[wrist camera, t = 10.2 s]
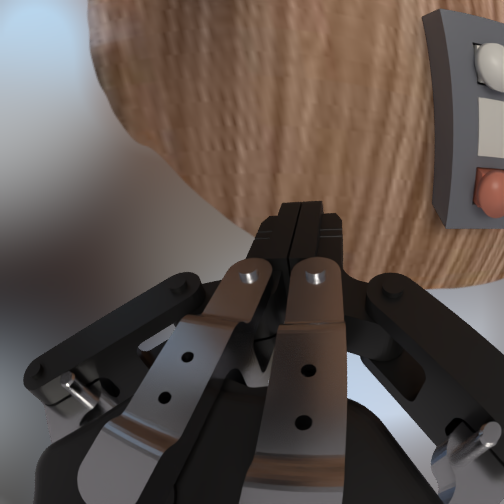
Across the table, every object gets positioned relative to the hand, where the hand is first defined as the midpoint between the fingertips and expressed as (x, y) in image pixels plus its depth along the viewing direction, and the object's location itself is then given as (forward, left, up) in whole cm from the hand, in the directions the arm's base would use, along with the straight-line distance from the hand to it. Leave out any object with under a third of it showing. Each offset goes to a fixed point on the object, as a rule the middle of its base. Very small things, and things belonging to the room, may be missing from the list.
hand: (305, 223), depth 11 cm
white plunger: (-7, +21, -28) cm, 35 cm away
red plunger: (+8, +21, -27) cm, 35 cm away
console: (+1, +21, -29) cm, 36 cm away
